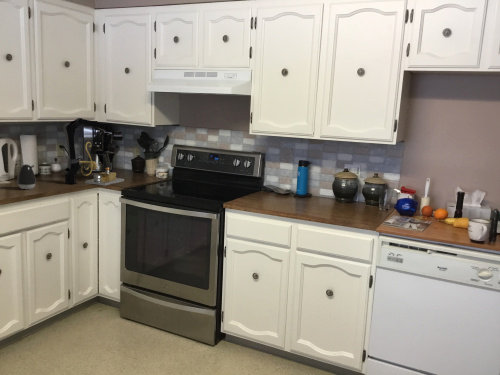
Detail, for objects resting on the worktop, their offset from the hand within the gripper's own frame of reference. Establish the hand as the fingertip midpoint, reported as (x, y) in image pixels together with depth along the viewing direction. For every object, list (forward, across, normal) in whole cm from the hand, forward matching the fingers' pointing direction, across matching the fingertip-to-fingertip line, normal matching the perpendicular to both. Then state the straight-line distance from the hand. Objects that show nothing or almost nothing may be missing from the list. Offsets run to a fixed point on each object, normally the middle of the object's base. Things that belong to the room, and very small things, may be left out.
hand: (107, 163), depth 319 cm
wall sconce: (+13, +11, +26) cm, 30 cm away
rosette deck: (+12, -3, 0) cm, 13 cm away
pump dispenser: (+13, -50, +21) cm, 56 cm away
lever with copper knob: (+11, 0, 0) cm, 11 cm away
